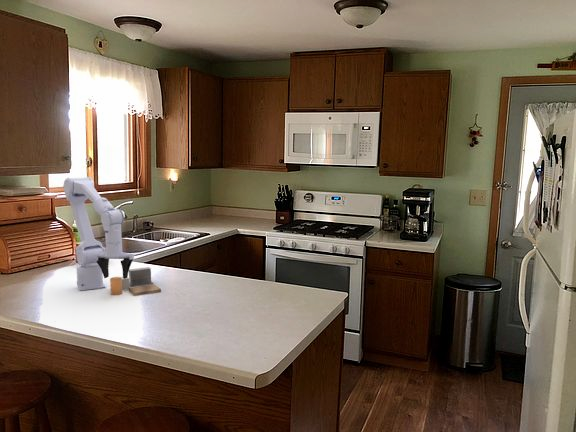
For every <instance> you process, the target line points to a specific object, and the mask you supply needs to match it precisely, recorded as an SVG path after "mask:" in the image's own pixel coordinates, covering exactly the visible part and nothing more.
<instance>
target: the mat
mask: <svg viewBox="0 0 576 432" xmlns="http://www.w3.org/2000/svg"><path fill="white" fill-rule="evenodd" d="M128 291H129V292H130V293H131V295H133V296H134V297H136V296H140V295H141V296H142V295H149V294H156V293H161V292H162V290H161V288H160V287H159V286H157V284H155V283H153V284H148V285H141V286H134V287H130V286H129V290H128Z"/></svg>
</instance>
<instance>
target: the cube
mask: <svg viewBox="0 0 576 432" xmlns="http://www.w3.org/2000/svg"><path fill="white" fill-rule="evenodd" d="M120 277H121V279H122V291H129V287H130V286H129V276H128V277H127V278H125V279H123V276H120Z"/></svg>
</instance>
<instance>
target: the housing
mask: <svg viewBox="0 0 576 432" xmlns="http://www.w3.org/2000/svg"><path fill="white" fill-rule="evenodd" d="M151 270H152V268H150V267H149V266H146V267H138V268H129V272H128V278H129V287H137V286H144V285H151V284H154V281H152V271H151Z"/></svg>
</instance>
